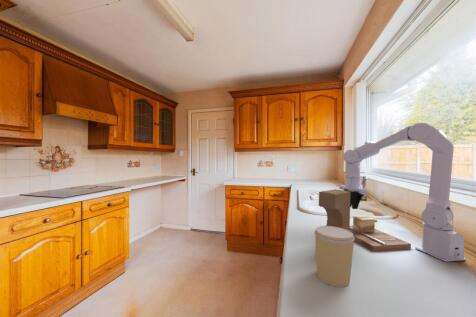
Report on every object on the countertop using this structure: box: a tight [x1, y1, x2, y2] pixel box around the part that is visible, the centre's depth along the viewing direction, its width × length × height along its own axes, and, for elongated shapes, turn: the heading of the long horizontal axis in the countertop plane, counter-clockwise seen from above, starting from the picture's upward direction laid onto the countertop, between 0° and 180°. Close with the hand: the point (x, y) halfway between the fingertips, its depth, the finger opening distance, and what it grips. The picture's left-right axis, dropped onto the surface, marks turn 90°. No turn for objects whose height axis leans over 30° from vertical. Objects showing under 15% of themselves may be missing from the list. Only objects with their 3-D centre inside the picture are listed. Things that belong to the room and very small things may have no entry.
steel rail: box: [350, 227, 386, 245], centre depth 80 cm, size 20×1×1 cm, turn 10°
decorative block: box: [318, 188, 351, 231], centre depth 69 cm, size 11×6×20 cm, turn 127°
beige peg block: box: [352, 215, 378, 232], centre depth 85 cm, size 5×9×5 cm, turn 100°
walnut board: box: [350, 225, 412, 252], centre depth 80 cm, size 20×15×2 cm
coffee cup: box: [314, 225, 355, 288], centre depth 53 cm, size 9×9×12 cm
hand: (351, 207), depth 91 cm, fingers open, 3 cm apart
